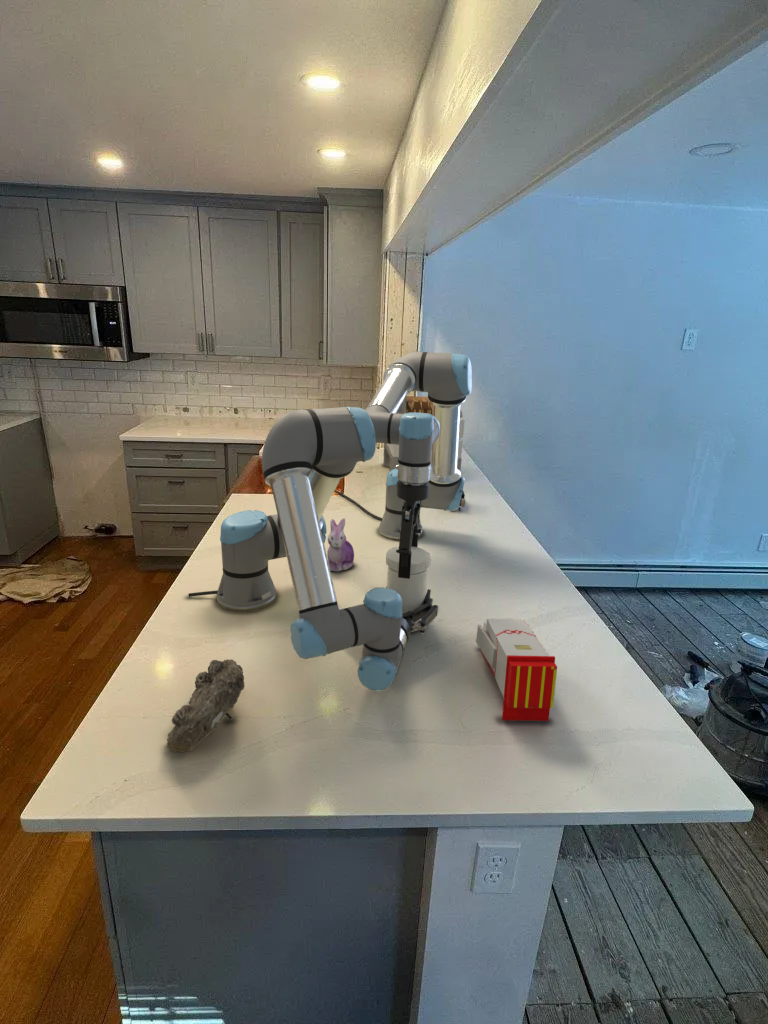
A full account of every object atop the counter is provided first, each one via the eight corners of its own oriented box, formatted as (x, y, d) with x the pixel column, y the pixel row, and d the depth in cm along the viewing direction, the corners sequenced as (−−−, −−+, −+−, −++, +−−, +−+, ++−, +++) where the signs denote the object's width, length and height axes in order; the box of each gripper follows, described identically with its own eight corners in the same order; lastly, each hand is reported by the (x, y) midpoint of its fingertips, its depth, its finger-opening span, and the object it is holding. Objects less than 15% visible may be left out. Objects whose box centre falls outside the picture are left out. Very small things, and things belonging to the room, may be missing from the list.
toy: (523, 604, 135) (566, 662, 106) (518, 656, 138) (559, 727, 109) (472, 603, 135) (501, 661, 105) (468, 655, 138) (496, 726, 108)
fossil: (192, 660, 117) (244, 628, 112) (224, 691, 120) (276, 661, 115) (142, 746, 98) (202, 712, 93) (182, 779, 101) (242, 748, 96)
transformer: (382, 463, 289) (386, 382, 275) (445, 464, 293) (451, 384, 279) (390, 482, 257) (394, 392, 243) (460, 483, 261) (468, 394, 247)
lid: (438, 569, 136) (439, 560, 135) (397, 575, 131) (397, 566, 131) (417, 551, 145) (418, 543, 144) (378, 557, 141) (379, 549, 140)
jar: (403, 636, 137) (407, 570, 131) (377, 620, 144) (380, 556, 138) (431, 624, 143) (436, 560, 137) (405, 608, 150) (409, 547, 144)
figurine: (332, 575, 167) (332, 527, 162) (319, 561, 175) (319, 516, 170) (361, 569, 171) (362, 523, 166) (347, 556, 179) (348, 512, 174)
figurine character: (465, 515, 224) (460, 499, 237) (467, 498, 221) (462, 483, 234) (448, 515, 224) (444, 499, 237) (450, 498, 220) (445, 482, 234)
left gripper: (341, 643, 128) (366, 597, 149) (439, 659, 124) (450, 610, 145) (342, 614, 126) (367, 572, 146) (442, 630, 122) (453, 584, 142)
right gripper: (405, 466, 142) (400, 547, 150) (387, 494, 121) (383, 586, 128) (434, 469, 141) (428, 550, 149) (422, 497, 120) (416, 590, 127)
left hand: (408, 591), depth 146 cm, fingers closed on jar, 10 cm apart
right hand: (407, 567), depth 139 cm, fingers closed on lid, 11 cm apart
